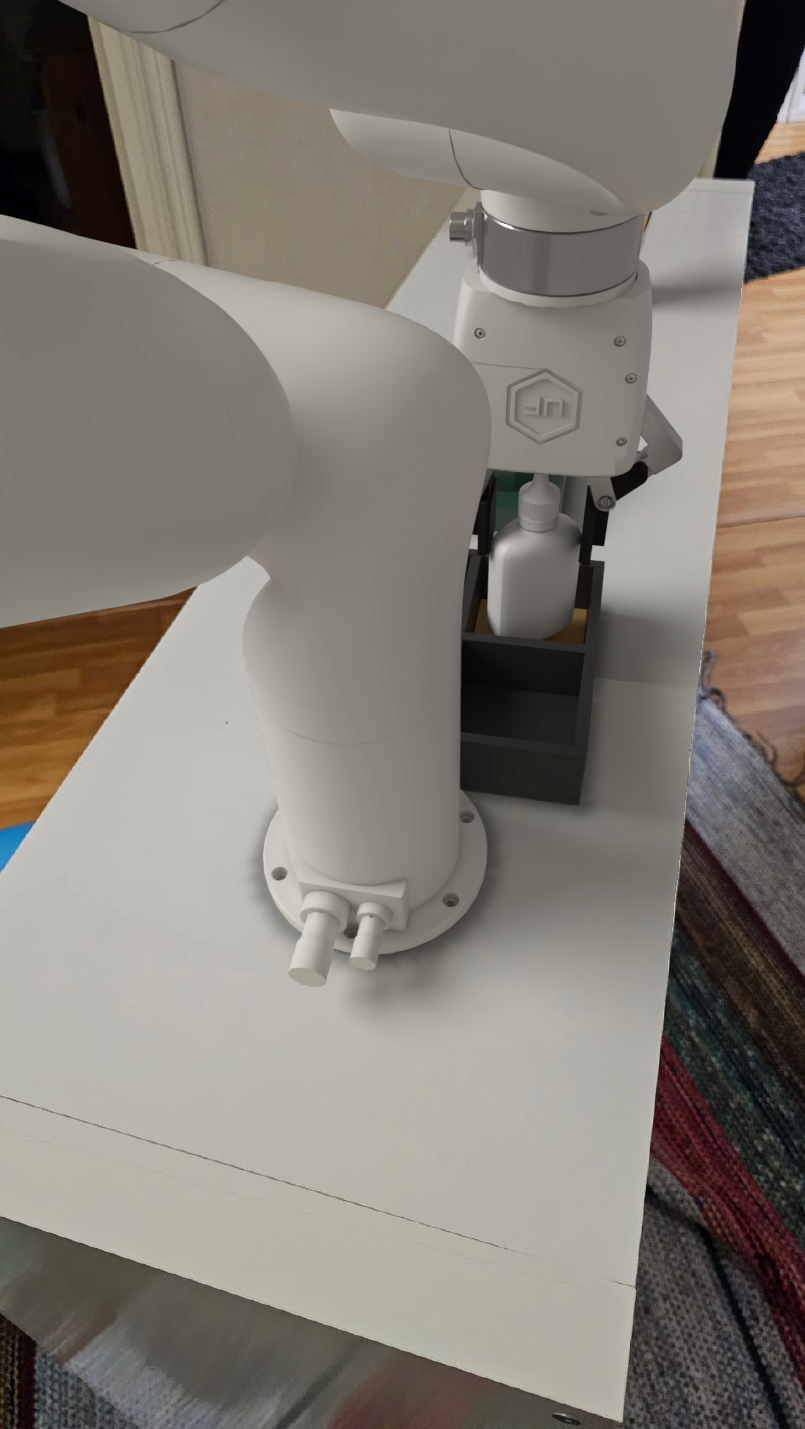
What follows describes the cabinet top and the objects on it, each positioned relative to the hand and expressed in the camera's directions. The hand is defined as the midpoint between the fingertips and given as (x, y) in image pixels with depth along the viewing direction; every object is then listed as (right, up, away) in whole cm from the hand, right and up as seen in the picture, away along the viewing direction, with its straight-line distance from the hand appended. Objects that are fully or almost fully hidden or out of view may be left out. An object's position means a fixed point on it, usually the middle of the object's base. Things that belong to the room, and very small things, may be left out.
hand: (535, 544), depth 59 cm
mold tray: (-5, -9, +5) cm, 11 cm away
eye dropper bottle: (0, -5, +5) cm, 7 cm away
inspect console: (0, +8, +19) cm, 20 cm away
